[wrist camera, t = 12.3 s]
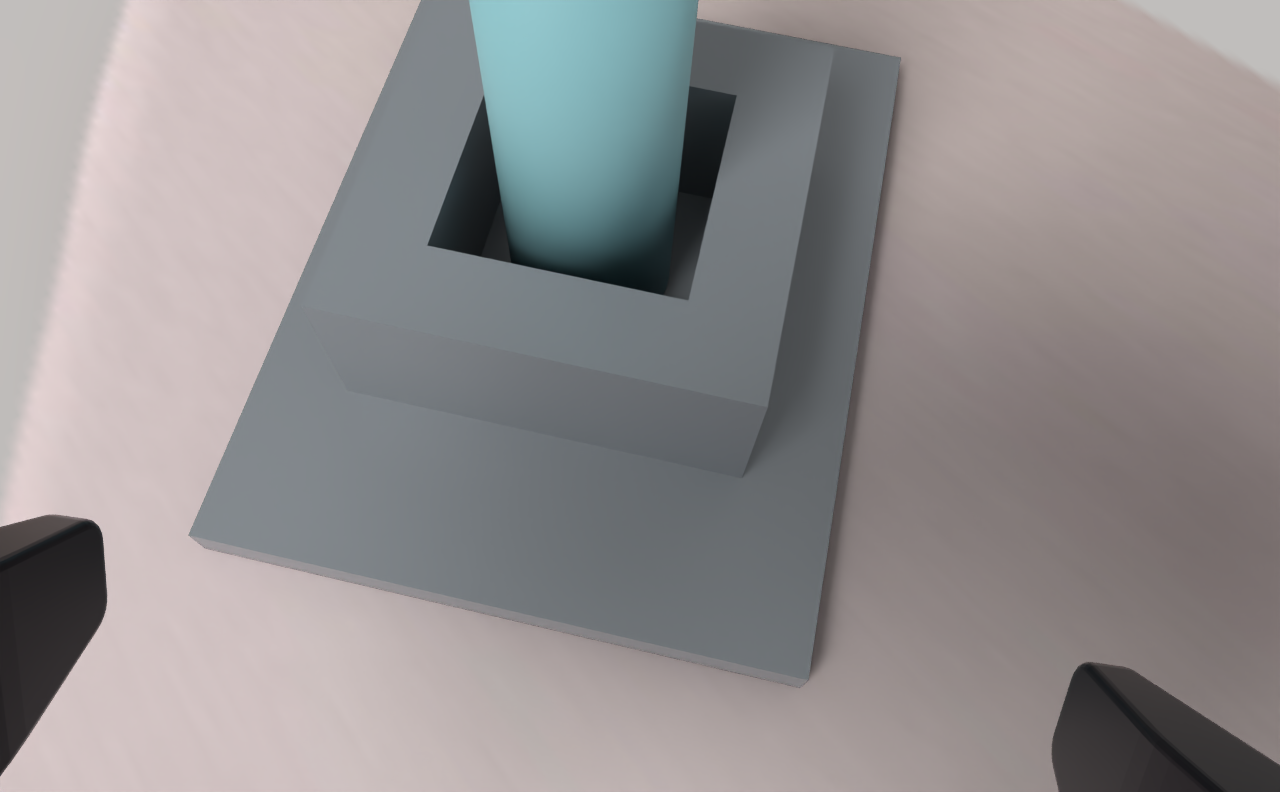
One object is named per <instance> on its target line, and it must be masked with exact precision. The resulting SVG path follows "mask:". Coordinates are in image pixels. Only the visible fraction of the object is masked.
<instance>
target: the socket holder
mask: <svg viewBox="0 0 1280 792" xmlns="http://www.w3.org/2000/svg"><path fill="white" fill-rule="evenodd" d="M900 60H901V58H900V57H895V56H889V55H884V54H879V53H874V52H869V51H863V50H858V49H853V48H848V47H843V46H837V45H832V44H827V43H822V42H817V41H812V40H806V39H801V38H796V37H791V36H786V35H780V34H775V33H770V32H765V31H760V30H754V29H749V28H744V27H739V26H734V25H729V24H723V23H718V22H713V21H708V20H703V19H697V18H696V28H695V37H694V47H693V56H692V65H691V75H690V84H689V94H688V103H687V112H686V122H685V131H684V141H683V150H682V160H681V169H680V178H679V188H678V197H677V207H676V216H675V225H674V235H673V244H672V254H671V263H670V272H669V280H668V284H667V287H666V290H665V292H664V294H663V295H659V294H655V293H650V292H645V291H640V290H636V289H631V288H626V287H622V286H617V285H612V284H607V283H603V282H598V281H593V280H588V279H584V278H579V277H574V276H569V275H565V274H560V273H555V272H550V271H546V270H541V269H536V268H532V267H527V266H522V265H517V264H513V263H511V258H510V252H509V245H508V239H507V233H506V227H505V221H504V214H503V208H502V202H501V196H500V190H499V183H498V177H497V171H496V165H495V159H494V152H493V146H492V140H491V134H490V128H489V121H488V115H487V109H486V103H485V97H484V90H483V84H482V78H481V72H480V66H479V59H478V53H477V47H476V41H475V35H474V28H473V22H472V16H471V10H470V4H469V0H421V2H420V4H419V6H418V9H417V11H416V13H415V16H414V18H413V20H412V22H411V25H410V27H409V29H408V32H407V34H406V36H405V39H404V41H403V43H402V45H401V48H400V50H399V52H398V55H397V57H396V59H395V62H394V64H393V66H392V68H391V71H390V73H389V75H388V78H387V80H386V82H385V85H384V87H383V89H382V91H381V94H380V96H379V98H378V101H377V103H376V105H375V108H374V110H373V112H372V114H371V117H370V119H369V121H368V124H367V126H366V128H365V131H364V133H363V135H362V137H361V140H360V142H359V144H358V147H357V149H356V151H355V154H354V156H353V158H352V160H351V163H350V165H349V167H348V170H347V172H346V174H345V177H344V179H343V181H342V183H341V186H340V188H339V190H338V193H337V195H336V197H335V200H334V202H333V204H332V206H331V209H330V211H329V213H328V216H327V218H326V220H325V223H324V225H323V227H322V229H321V232H320V234H319V236H318V239H317V241H316V243H315V245H314V248H313V250H312V252H311V255H310V257H309V259H308V262H307V264H306V266H305V268H304V271H303V273H302V275H301V278H300V280H299V282H298V285H297V287H296V289H295V291H294V294H293V296H292V298H291V301H290V303H289V305H288V308H287V310H286V312H285V314H284V317H283V319H282V321H281V324H280V326H279V328H278V331H277V333H276V335H275V337H274V340H273V342H272V344H271V347H270V349H269V351H268V354H267V356H266V358H265V360H264V363H263V365H262V367H261V370H260V372H259V374H258V377H257V379H256V381H255V383H254V386H253V388H252V390H251V393H250V395H249V397H248V400H247V402H246V404H245V406H244V409H243V411H242V413H241V416H240V418H239V420H238V423H237V425H236V427H235V429H234V432H233V434H232V436H231V439H230V441H229V443H228V446H227V448H226V450H225V452H224V455H223V457H222V459H221V462H220V464H219V466H218V469H217V471H216V473H215V475H214V478H213V480H212V482H211V485H210V487H209V489H208V492H207V494H206V496H205V498H204V501H203V503H202V505H201V508H200V510H199V512H198V515H197V517H196V519H195V521H194V524H193V526H192V528H191V531H190V533H189V536H190V537H191V538H192V539H194V540H195V541H196V542H197V543H199V544H200V545H201V546H203V547H204V548H206V549H210V550H215V551H219V552H223V553H227V554H232V555H236V556H240V557H245V558H249V559H253V560H257V561H262V562H266V563H270V564H274V565H279V566H283V567H287V568H291V569H296V570H300V571H304V572H309V573H313V574H317V575H321V576H326V577H330V578H334V579H338V580H343V581H347V582H351V583H355V584H360V585H364V586H368V587H372V588H377V589H381V590H385V591H390V592H394V593H398V594H402V595H407V596H411V597H415V598H419V599H424V600H428V601H432V602H436V603H441V604H445V605H449V606H453V607H458V608H462V609H466V610H471V611H475V612H479V613H483V614H488V615H492V616H496V617H500V618H505V619H509V620H513V621H517V622H522V623H526V624H530V625H535V626H539V627H543V628H547V629H552V630H556V631H560V632H564V633H569V634H573V635H577V636H581V637H586V638H590V639H594V640H598V641H603V642H607V643H611V644H616V645H620V646H624V647H628V648H633V649H637V650H641V651H645V652H650V653H654V654H658V655H662V656H667V657H671V658H675V659H679V660H684V661H688V662H692V663H697V664H701V665H705V666H709V667H714V668H718V669H722V670H726V671H731V672H735V673H739V674H743V675H748V676H752V677H756V678H761V679H765V680H769V681H773V682H778V683H782V684H786V685H790V686H795V687H799V688H800V687H801V686H803V685H804V684H805V683H806V682H807V681H808V680H809V673H810V666H811V659H812V653H813V646H814V639H815V633H816V626H817V619H818V612H819V606H820V599H821V592H822V585H823V579H824V572H825V565H826V559H827V552H828V545H829V538H830V532H831V525H832V518H833V511H834V505H835V498H836V491H837V484H838V478H839V471H840V464H841V458H842V451H843V444H844V437H845V431H846V424H847V417H848V410H849V404H850V397H851V390H852V384H853V377H854V370H855V363H856V357H857V350H858V343H859V336H860V330H861V323H862V316H863V309H864V303H865V296H866V289H867V283H868V276H869V269H870V262H871V256H872V249H873V242H874V235H875V229H876V222H877V215H878V209H879V202H880V195H881V188H882V182H883V175H884V168H885V161H886V155H887V148H888V141H889V134H890V128H891V121H892V114H893V108H894V101H895V94H896V87H897V81H898V74H899V67H900Z"/></svg>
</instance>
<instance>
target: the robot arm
mask: <svg viewBox="0 0 1280 792" xmlns="http://www.w3.org/2000/svg"><path fill="white" fill-rule="evenodd" d="M106 606H107V587H106V573H105V560H104V546H103V537H102V532H101V530H100V528H99V526H98V525H97V524H96V523H95V522H94V521H92V520H88V519H83V518H76V517H69V516H62V515H45V516H41V517H37V518H33V519H30V520H26V521H22V522H18V523H14V524H10V525H6V526H2V527H0V776H1V774H2V773H3V772H4V770H5V769H6V768H7V767H8V765H9V764H10V763H11V761H12V760H13V758H14V757H15V755H16V754H17V752H18V751H19V750H20V748H21V747H22V745H23V744H24V742H25V741H26V739H27V738H28V736H29V735H30V733H31V732H32V730H33V729H34V727H35V726H36V724H37V722H38V721H39V719H40V718H41V716H42V715H43V713H44V712H45V710H46V709H47V707H48V705H49V704H50V702H51V701H52V699H53V698H54V696H55V695H56V693H57V691H58V690H59V688H60V687H61V685H62V684H63V682H64V681H65V679H66V678H67V676H68V674H69V673H70V671H71V670H72V668H73V667H74V665H75V664H76V662H77V660H78V659H79V657H80V656H81V654H82V653H83V651H84V650H85V648H86V647H87V645H88V643H89V642H90V640H91V639H92V637H93V636H94V634H95V633H96V631H97V629H98V628H99V626H100V624H101V622H102V620H103V617H104V614H105V611H106ZM1052 762H1053V768H1054V772H1055V777H1056V781H1057V785H1058V790H1059V792H1280V765H1279V764H1277V763H1276V762H1274V761H1272V760H1271V759H1269V758H1268V757H1266V756H1265V755H1263V754H1262V753H1260V752H1259V751H1257V750H1255V749H1254V748H1252V747H1251V746H1249V745H1248V744H1246V743H1245V742H1243V741H1242V740H1240V739H1238V738H1237V737H1235V736H1234V735H1232V734H1231V733H1229V732H1228V731H1226V730H1225V729H1223V728H1221V727H1220V726H1218V725H1217V724H1215V723H1214V722H1212V721H1211V720H1209V719H1208V718H1206V717H1204V716H1203V715H1201V714H1200V713H1198V712H1197V711H1195V710H1194V709H1192V708H1191V707H1189V706H1187V705H1186V704H1184V703H1183V702H1181V701H1180V700H1178V699H1177V698H1175V697H1174V696H1172V695H1170V694H1169V693H1167V692H1166V691H1164V690H1163V689H1161V688H1160V687H1158V686H1157V685H1155V684H1153V683H1152V682H1150V681H1149V680H1147V679H1146V678H1144V677H1143V676H1141V675H1140V674H1138V673H1136V672H1135V671H1133V670H1131V669H1129V668H1126V667H1122V666H1114V665H1107V664H1100V663H1093V662H1085V663H1083V664H1082V665H1080V666H1078V668H1077V669H1076V671H1075V672H1074V674H1073V676H1072V679H1071V682H1070V685H1069V688H1068V692H1067V695H1066V698H1065V701H1064V704H1063V707H1062V710H1061V714H1060V717H1059V720H1058V723H1057V726H1056V729H1055V732H1054V736H1053V742H1052Z"/></svg>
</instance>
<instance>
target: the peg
mask: <svg viewBox="0 0 1280 792" xmlns="http://www.w3.org/2000/svg"><path fill="white" fill-rule="evenodd" d="M469 4H470V10H471V16H472V22H473V28H474V35H475V41H476V47H477V53H478V59H479V66H480V72H481V78H482V84H483V90H484V97H485V103H486V109H487V115H488V121H489V128H490V134H491V140H492V146H493V152H494V159H495V165H496V171H497V177H498V183H499V190H500V196H501V202H502V208H503V214H504V221H505V227H506V233H507V239H508V245H509V252H510V258H511V263H513V264H517V265H522V266H527V267H532V268H536V269H541V270H546V271H550V272H555V273H560V274H565V275H569V276H574V277H579V278H584V279H588V280H593V281H598V282H603V283H607V284H612V285H617V286H622V287H626V288H631V289H636V290H640V291H645V292H650V293H655V294H659V295H663V294H664V292H665V290H666V287H667V284H668V280H669V272H670V263H671V254H672V244H673V235H674V225H675V216H676V207H677V197H678V188H679V178H680V169H681V160H682V150H683V141H684V131H685V122H686V112H687V103H688V94H689V84H690V75H691V65H692V56H693V47H694V37H695V28H696V18H697V9H698V0H469Z"/></svg>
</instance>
